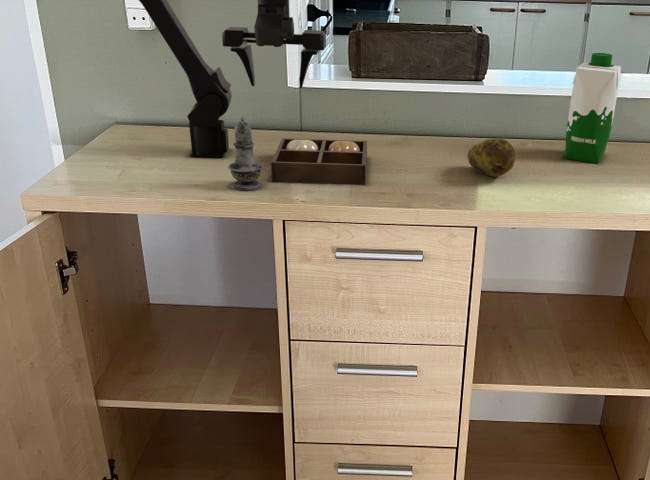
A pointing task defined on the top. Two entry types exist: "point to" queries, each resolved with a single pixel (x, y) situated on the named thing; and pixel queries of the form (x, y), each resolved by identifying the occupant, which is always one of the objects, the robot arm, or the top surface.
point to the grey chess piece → (245, 160)
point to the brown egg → (344, 146)
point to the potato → (492, 157)
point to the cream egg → (302, 145)
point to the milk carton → (592, 108)
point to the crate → (319, 164)
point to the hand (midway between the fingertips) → (277, 86)
